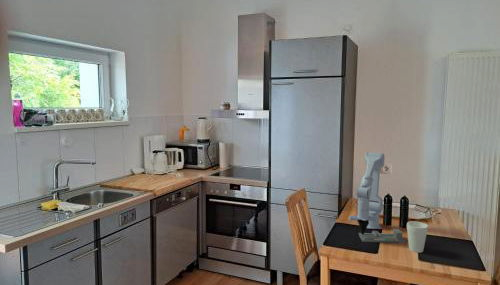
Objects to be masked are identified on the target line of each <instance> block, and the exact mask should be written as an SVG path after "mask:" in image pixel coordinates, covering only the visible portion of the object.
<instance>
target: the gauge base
mask: <svg viewBox="0 0 500 285" xmlns="http://www.w3.org/2000/svg"><path fill="white" fill-rule="evenodd" d="M379 233H380V232H379ZM358 234H359V235H358V237H359V238H360V240H361V242H362V243H381V244H382V243H383V244H387V243H391V244H392V243H394V244H407V240H406V239H405V238H404V237H403V234H404V233H403V231H401V229H400V228H392V233H382V232H381V233H380V237H373V235H372V232H371V233H369V232H368V233H367V232H365V233H364V234H361V232H358Z"/></svg>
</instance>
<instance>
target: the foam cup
mask: <svg viewBox="0 0 500 285" xmlns="http://www.w3.org/2000/svg"><path fill="white" fill-rule="evenodd" d="M406 230H407V241H408V250H409V251H411V252H414V253H417V254H419V253H423V252H424V248H425V243H426V240H427V235H428V232H429V225H428V224H427V223H424V222H421V221H416V220H414V221H408V222H406Z"/></svg>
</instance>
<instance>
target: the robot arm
mask: <svg viewBox="0 0 500 285" xmlns="http://www.w3.org/2000/svg"><path fill="white" fill-rule="evenodd" d="M385 159H386V158H385V154H384V153H383V152H369V151H367V152H365V154H364V161H365V164H366V170H365V173H364V175H363V176H362V178H361V180H360V185H359V186H358V187H357V188H356V199H357V215H349V216H348V220H349V221H350V222H352V221H356V222H357V223H358V225H359V229H360V233H361V234H364V233H366V229H370V230H371V229H373V230H375V229H376V230H377V229H378V230H381V229H382V227H381V225H380V213H382V212H383V208H384V200H383V199H382V197H381V196H379V186H380V175H381V172H380V171H381V168H384V167H385V166H384V165H385Z"/></svg>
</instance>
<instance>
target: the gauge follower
mask: <svg viewBox="0 0 500 285" xmlns="http://www.w3.org/2000/svg"><path fill="white" fill-rule="evenodd" d="M371 233H372V235H373V237H380V232H379V230H372V232H371Z"/></svg>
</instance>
